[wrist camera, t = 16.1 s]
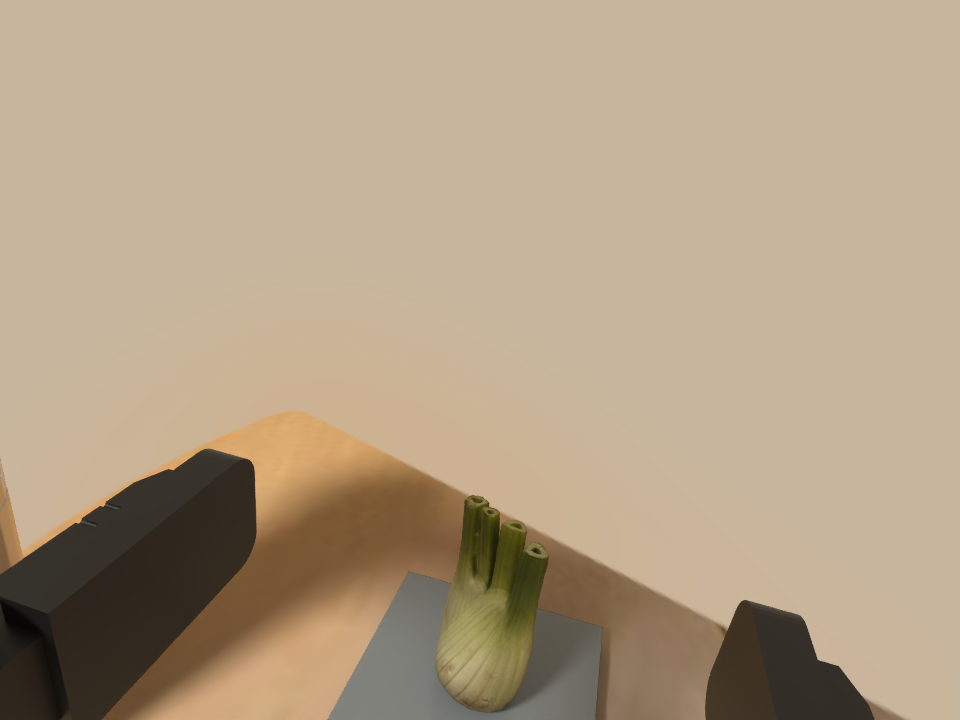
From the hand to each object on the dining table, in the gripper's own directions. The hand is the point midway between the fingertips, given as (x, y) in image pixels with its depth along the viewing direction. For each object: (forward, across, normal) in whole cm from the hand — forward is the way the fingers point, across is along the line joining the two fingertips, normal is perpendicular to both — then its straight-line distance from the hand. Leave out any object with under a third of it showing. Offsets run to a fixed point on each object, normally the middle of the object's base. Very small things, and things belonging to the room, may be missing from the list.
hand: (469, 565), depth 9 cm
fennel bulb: (+17, +1, +24) cm, 30 cm away
